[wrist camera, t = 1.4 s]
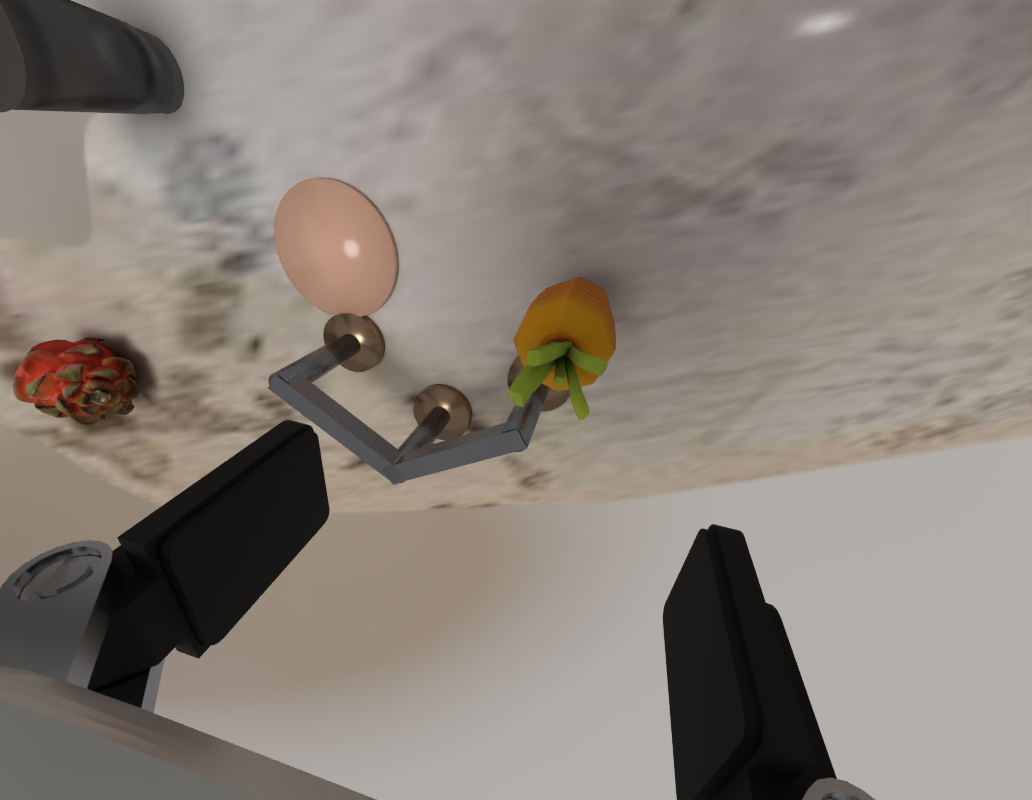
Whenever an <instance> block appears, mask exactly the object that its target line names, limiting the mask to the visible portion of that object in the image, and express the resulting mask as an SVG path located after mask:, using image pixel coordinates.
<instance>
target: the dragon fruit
mask: <svg viewBox="0 0 1032 800" xmlns="http://www.w3.org/2000/svg"><path fill="white" fill-rule="evenodd" d="M100 341H104V340H102V339H99V338H86V339H82V340H80V341H77V342H74V343H73V342H69V341H66V340H52V341H47V342H42V343H39V344H37V345H36V346H34V347H32V348H31V351H29V352H28V354H27V356H26V357H25V359H24V360H23V362H22V364H21V365H20V366H19V368H18V370H17V371H16V373H15V377H14V385H13V389H14V393H15V396H16V398H17V399H18V400H20V401H23V402H28V403H35V407H36V408H37V409H38V410H40V411H42V412H43V413H46V414H49V415H52V416H55V417H57V418H58V417H68V416H70V417H71V418H72V419H74V420H75V421H77V422H78V423H80V424H82V425H85V426H91V425H94V424H96V422H102V421H103V420H105V415H106V414H121V415H127V414H128V413H129V412H131V411H132V410H133V408H134V405H133V404H132V400H131V399H133V398H135V397H137V396H138V394H139V391H140V390H139V388H138V386H137V384H136V383H135V382H134V381H135V379H136V377H137V376H136V372H135V367H134V363H133V362H131V361H130V360H128V359H126V358H123V357H116V356H114V355H113V354H112V350H111V348H110V347H108V346H107V345H105V344H104V343H102V342H100ZM104 342H105V341H104Z"/></svg>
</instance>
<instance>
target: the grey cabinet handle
mask: <svg viewBox="0 0 1032 800" xmlns="http://www.w3.org/2000/svg"><path fill="white" fill-rule="evenodd" d="M324 342H325V345H324V346H322V347H321V348H319V349H317V350H315V351H313V352H312V353H310V354H308V355H306V356H304V357H302V358H301V359H299V360H297V361H295V362H293V363H292V364H290V365H288V366H286V367H284V368H282V369H281V370H279V371H277V372H275V373H273V374H271V375H270V377H269V387H268V389H270V390H271V391H272V392H273V393H275V394H276V395H277V396H279V397H280V398H281V399H283V400H284V401H285V402H287V403H288V404H289V405H291V406H292V407H293V408H295V409H296V410H297V411H299V412H300V413H301V414H303V415H304V416H305V417H307V418H308V419H309V420H311V421H312V422H313V423H314V424H316V425H317V426H318V427H320V428H321V429H322V430H324V431H325V432H326V433H328V434H329V435H330V436H332V437H333V438H334V439H336V440H337V441H338V442H340V443H341V444H342V445H344V446H345V447H346V448H348V449H349V450H350V451H351V452H353V453H354V454H355V455H357V456H358V457H359V458H361V459H362V460H363V461H365V462H366V463H367V464H369V465H370V466H371V467H373V468H374V469H375V470H377V471H378V472H379V473H381V474H382V475H383V476H385V477H386V478H387V479H388V480H390V481H391V483H392V484H395V485H396V484H397V483H403V482H405V481H406V480H410V479H414V478H418V477H421V476H425V475H429V474H433V473H437V472H440V471H444V470H448V469H452V468H456V467H459V466H463V465H467V464H471V463H474V462H478V461H482V460H486V459H490V458H493V457H497V456H501V455H505V454H509V453H512V452H521V451H523V450H525V449H527V447H528V444H529V442H530V439H531V436H532V434H533V431H534V428H535V426H536V423H537V421H538V418H539V415H540V413H541V411H550V410H554V409H556V408H558V407H560V406H561V405H562V404H564V403H565V401H566V400H567V399H568V397H569V395H570V392H569V389H567V390H563V391H558V392H557V391H556V390H554V389H552V388H550V387H548V386H546V385H544V384H542V383H541V385H540V386H539V387H538V388H537V389H536V390H535V391H534V392H533V393H532V395H531V396H530V398H529V399H528V401H527V402H526V404H525V405H524V407H520V406H516V405H515V406H514V408H513V410H512V412H511V414H510V416H509V418H508V420H507V422H506V423H503V424H499V425H496V426H493V427H489V428H486V429H483V430H479V431H476V432H473V433H469V434H466V435H462V434H463V433H464V432H465V431H466V429H467V428H468V426H469V424H470V422H471V419H472V410H471V406H470V404H469V402H468V400H467V399H466V398H465V396H464V395H463V394H462V393H461V392H459V391H458V390H456V389H455V388H453V387H450V386H447V385H442V384H437V385H432V386H429V387H427V388H426V389H425V390H424V391H423V392H422V393H421V394H420V395H419V396H418V397H417V398H416V400H415V403H414V408H413V410H414V416H415V419H416V421H417V423H418V424H419V425H418V426H417V427H416V429H415V430H414V431H413V432H412V433H411V434H410V436H409V437H408V438H407V439H406V440H405V441H404V443H403V444H402V445H401V446H400V447H399V449H397V448H395V447H394V446H393V445H391V444H390V443H389V442H387V441H386V440H385V439H384V438H382V437H381V436H380V435H378V434H377V433H376V432H375V431H373V430H372V429H371V428H369V427H368V426H367V425H365V424H364V423H363V422H362V421H360V420H359V419H358V418H356V417H355V416H354V415H352V414H351V413H350V412H349V411H347V410H346V409H345V408H343V407H342V406H341V405H340V404H338V403H337V402H336V401H334V400H333V399H332V398H330V397H329V396H328V395H327V394H325V393H324V392H323V391H321V390H320V389H319V388H317V387H316V386H315V385H314V384H312V382H314V381H315V380H317V379H318V378H320V377H321V376H323V375H325V374H326V373H328V372H329V371H331V370H332V369H334V368H335V367H337V366H338V365H341V366H343V367H344V368H346V369H348V370H351V371H356V372H362V371H366V370H369V369H370V368H372V367H373V366H374V365H376V364H377V363H378V362H379V361H380V360H381V359H382V357H383V354H384V350H385V344H384V339H383V336H382V333H381V331H380V330H379V328H378V327H377V325H376V324H375V323H374V322H373V321H372V320H371V319H370V318H368V317H367V316H362V317H359V316H357V315H355V314H351V313H341V314H338V315H336V316H334V317H332V318H331V319H329V321H328V322H327V323H326V325H325V328H324ZM523 368H524V367H523V365H522V362H521V359H520V356H518V357H517V358H516V360H515V361H514V363H513V364H512V366H511V368H510V370H509V373H508V386H509V388H510V386H511V385H512V383H513V382H514V380H515V379H516V377H517V376H518V374H519V373H520V372H521V371H522V370H523ZM461 435H462V436H461ZM436 439H441V440H446V441H442V442H439V443H436V444H433V443H434V441H435V440H436Z"/></svg>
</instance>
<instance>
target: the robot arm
mask: <svg viewBox="0 0 1032 800" xmlns="http://www.w3.org/2000/svg"><path fill="white" fill-rule="evenodd" d="M328 516H329V504H328V497H327V491H326V484H325V478H324V472H323V465H322V459H321V453H320V446H319V440H318V436H317V434H316V433H315V432H314V431H313V428H312V427H311V426H310V425H307V424H303V423H299V422H295V421H291V420H285V421H283V422H281V423H280V424H278V425H277V426H276V427H274V428H273V429H271V430H270V431H268V432H267V433H266V434H264V435H263V436H261V437H260V438H258V439H257V440H256V441H254V442H253V443H251V444H250V445H248V446H247V447H246V448H244V449H243V450H241V451H240V452H238V453H237V454H236V455H234V456H233V457H231V458H230V459H228V460H227V461H226V462H224V463H223V464H221V465H220V466H219V467H217V468H216V469H214V470H213V471H211V472H210V473H209V474H207V475H206V476H204V477H203V478H201V479H200V480H199V481H197V482H196V483H194V484H193V485H191V486H190V487H189V488H187V489H186V490H184V491H183V492H181V493H180V494H179V495H177V496H176V497H174V498H173V499H171V500H170V501H169V502H167V503H166V504H164V505H163V506H161V507H160V508H159V509H157V510H156V511H154V512H153V513H151V514H150V515H149V516H147V517H146V518H144V519H143V520H142V521H140V522H139V523H137V524H136V525H134V526H133V527H132V528H130V529H129V530H127V531H126V532H125V533H123V534H122V535H120V536H119V537H118V540H119V542H120V543H121V546H119V547H118V548H116V549H115V550H114V551H112V549H111V548H110V546H109V545H108V544H106V543H103V542H101V541H92V540H87V541H79V542H73V543H69V544H66V545H62V546H59V547H56V548H54V549H51V550H49V551H47V552H44V553H42V554H40V555H38V556H36V557H35V558H33V559H31V560H30V561H28V562H26V563H25V564H23V565H22V566H21V567H19V568H18V569H17V570H16V571H15V572H13V573H12V574H11V575H10V576H9V577H8V579H7V580H6V581H5V582H4V583H3V585H2V586H1V588H0V800H376V799H373V798H371V797H368V796H365V795H363V794H360V793H358V792H355V791H353V790H350V789H348V788H345V787H343V786H340V785H338V784H335V783H332V782H330V781H327V780H325V779H322V778H319V777H317V776H314V775H312V774H309V773H307V772H304V771H302V770H299V769H296V768H294V767H291V766H289V765H286V764H284V763H281V762H279V761H276V760H274V759H271V758H268V757H266V756H263V755H261V754H258V753H255V752H253V751H250V750H248V749H245V748H243V747H240V746H237V745H234V744H232V743H229V742H227V741H224V740H222V739H219V738H216V737H214V736H211V735H209V734H206V733H203V732H201V731H198V730H196V729H193V728H190V727H188V726H185V725H183V724H180V723H178V722H175V721H172V720H170V719H167V718H164V717H162V716H159V715H156V714H154V708H155V703H156V698H157V693H158V689H159V684H160V679H161V674H162V669H163V665H164V660H165V657H166V656H167V655H168V654H169V653H170V652H171V651H172V650H173V649H174V648H175V647H176V649H177V651H179V652H182V653H185V654H188V655H190V656H193V657H196V658H200V657H201V656H202V654H203V653H204V652H205V651H206V650H207V649H208V648H209V647H210V646H211V645H215V644H217V643H218V642H220V641H221V640H222V639H223V638H224V637H225V636H226V635H227V634H228V632H229V631H230V630H231V629H232V628H233V627H234V626H235V625H236V623H237V622H238V621H239V620H240V619H241V618H242V617H243V615H244V614H245V613H246V612H247V611H248V610H249V609H250V608H251V606H252V605H253V604H254V603H255V602H256V601H257V600H258V599H259V597H260V596H261V595H262V594H263V593H264V592H265V590H266V589H267V588H268V587H269V586H270V585H271V584H272V582H273V581H274V580H275V579H276V578H277V577H278V576H279V575H280V574H281V572H282V571H283V570H284V569H285V568H286V567H287V566H288V565H289V563H290V562H291V561H292V560H293V559H294V558H295V557H296V555H297V554H298V553H299V552H300V551H301V550H302V548H303V547H304V546H305V545H306V544H307V543H308V542H309V541H310V540H311V538H312V537H313V536H314V535H315V534H316V533H317V532H318V531H319V529H320V528H321V527H322V526H323V524H325V522H326V520H327V518H328ZM663 627H664V640H665V652H666V666H667V678H668V692H669V705H670V718H671V730H672V743H673V756H674V769H675V783H676V795H677V800H875V799H873V798H872V797H871V796H870V795H869V794H867V793H866V792H865V791H863V790H861V789H860V788H858V787H856V786H854V785H852V784H850V783H848V782H847V781H843V780H838V779H837V778H836V775H835V772H834V769H833V767H832V764H831V761H830V758H829V755H828V752H827V749H826V746H825V744H824V741H823V738H822V735H821V732H820V729H819V726H818V723H817V720H816V717H815V715H814V712H813V709H812V706H811V703H810V700H809V697H808V694H807V692H806V689H805V686H804V683H803V680H802V677H801V674H800V671H799V668H798V665H797V663H796V660H795V657H794V654H793V651H792V648H791V645H790V642H789V640H788V637H787V634H786V631H785V628H784V625H783V622H782V619H781V617H780V615H779V613H778V611H777V609H776V608H775V607H774V606H773V605H771V604H768V603H766V602H765V600H764V596H763V593H762V590H761V587H760V584H759V581H758V577H757V575H756V571H755V568H754V565H753V562H752V559H751V556H750V553H749V550H748V546H747V544H746V541H745V537H744V535H743V533H742V532H741V531H738V530H735V529H730V528H727V527H722V526H718V525H714V524H713V525H711V526H710V527H709V528H708V530H706V529H700V531H699V532H698V534H697V536H696V538H695V541H694V543H693V545H692V547H691V549H690V551H689V553H688V556H687V558H686V560H685V562H684V564H683V567H682V568H681V571H680V573H679V575H678V577H677V579H676V581H675V583H674V586H673V588H672V590H671V592H670V594H669V596H668V599H667V601H666V603H665V606H664V611H663Z"/></svg>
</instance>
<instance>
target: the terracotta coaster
mask: <svg viewBox="0 0 1032 800" xmlns="http://www.w3.org/2000/svg"><path fill="white" fill-rule="evenodd" d="M274 236H275V244H276V249H277V253H278V256H279V259H280V262H281V264H282V266H283V269H284V271H285V272H286V274H287V276H288V278H289V279H290V281H291V282H292V284H293V285H294V286H295V288H296V289H297V290H298V291H299V293H300V294H301V295H302V296H303V297H304V298H305V299H307V300H308V301H309V302H310V303H311V304H313V305H314V306H316V307H317V308H319V309H320V310H322V311H324V312H326V313H328V314H331V315H334V316H336V315H338V314H341V313H351V314H355V315H357V316H359V317H362V316H365V315H368V314H370V313H372V312H374V311H376V310H377V309H379V308H380V307H381V306H383V304H384V303H385V302H386V301H387V300H388V299H389V297H390V295H391V294H392V292H393V289H394V287H395V284H396V280H397V274H398V255H397V249H396V244H395V241H394V238H393V235H392V233H391V230H390V228H389V226H388V224H387V222H386V220H385V219H384V217H383V215H382V214H381V213H380V211H379V210H378V208H377V207H376V206H375V205H374V204H373V203H372V202H371V200H369V199H368V198H367V197H366V196H365V195H364V194H363V193H361V192H360V191H358V190H357V189H356V188H354V187H352V186H350V185H348V184H346V183H344V182H341V181H338V180H333V179H323V178H317V179H309V180H305V181H302V182H300V183H298V184H296V185H295V186H293V187H292V188H291V189H290V190H289V191H288V192H287V193H286V194H285V195H284V197H283V198H282V200H281V202H280V204H279V206H278V209H277V212H276V216H275V224H274Z"/></svg>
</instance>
